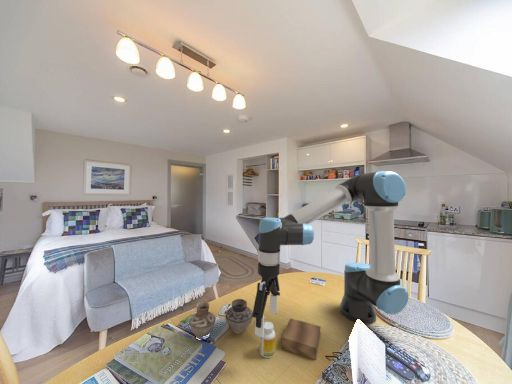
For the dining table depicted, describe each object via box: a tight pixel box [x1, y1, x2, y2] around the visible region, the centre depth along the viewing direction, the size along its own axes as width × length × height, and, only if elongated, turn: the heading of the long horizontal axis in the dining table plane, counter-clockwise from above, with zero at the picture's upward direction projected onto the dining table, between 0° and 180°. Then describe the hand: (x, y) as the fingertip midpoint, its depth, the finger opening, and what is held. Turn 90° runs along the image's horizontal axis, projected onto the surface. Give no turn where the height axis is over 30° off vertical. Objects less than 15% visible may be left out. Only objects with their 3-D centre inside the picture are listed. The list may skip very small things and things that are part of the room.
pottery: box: [188, 298, 253, 339], centre depth 81 cm, size 11×25×12 cm, turn 108°
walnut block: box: [281, 318, 322, 360], centre depth 76 cm, size 12×12×4 cm
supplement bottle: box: [259, 321, 276, 359], centre depth 71 cm, size 5×5×10 cm
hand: (266, 323), depth 71 cm, fingers open, 13 cm apart
